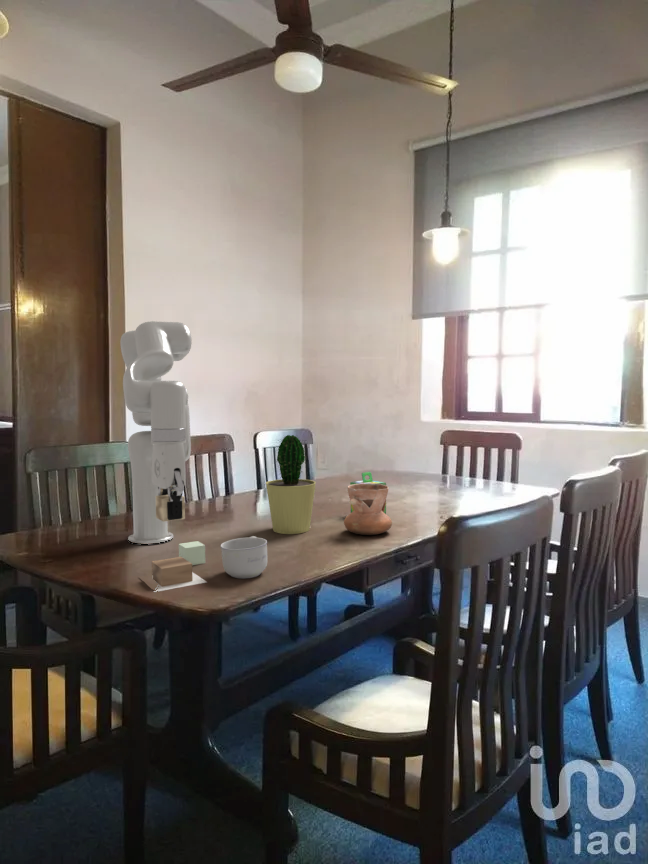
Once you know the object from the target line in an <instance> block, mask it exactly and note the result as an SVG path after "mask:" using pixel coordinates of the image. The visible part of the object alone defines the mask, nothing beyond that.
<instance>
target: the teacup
mask: <svg viewBox="0 0 648 864" xmlns="http://www.w3.org/2000/svg"><path fill="white" fill-rule="evenodd" d="M267 544H268V540H267V539H265V538H262V537H257V536H256V535H255V536H254V535H252V536H249V537H238V538H233V539H229V540H226V541H224V542H222V543H221V544H220V549H221V559H222V566H223V570H224V572H225V573H226V574H227V575H229V576H231V577H232V578H236V579H251V578H256V577H258V576H260V575H261V574H262V573H263V572H264V570H265V569H266V568H267V566H268V545H267Z"/></svg>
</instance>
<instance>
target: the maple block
mask: <svg viewBox="0 0 648 864" xmlns="http://www.w3.org/2000/svg"><path fill="white" fill-rule="evenodd" d="M185 499H186V497H185V496H184V495H182V518H181V519H175V520H174V521H179V520H186V501H185ZM167 502H169V498H168V495H159V496H156V518H158V519H159V520H161V521H163V522H164V521H167V522H171V521H173V520H168V514H167Z"/></svg>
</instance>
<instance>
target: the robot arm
mask: <svg viewBox="0 0 648 864" xmlns="http://www.w3.org/2000/svg"><path fill="white" fill-rule="evenodd" d="M192 340H193V338H192V334H191V331H190V328H189V327H188V325H186V324H185V323H183V322H178V321H157V320H156V321H153V320H152V321H144V322H142V323H140V324H139V325H138V326H137V327H136V329H135V330H129V331H126V332H124V333H122V335H121V337H120V342H119V343H120V352H121V356H122V360H123V362H124V364H125V367H126V369H125V371H124V374H123V379H122V387H123V388H122V389H123V396H124V403H125V405H126V408H127V409H128V410H129V411H130V412H131V415H132V420H133V421H134V424H136V425H138V426H141V427H144V426H145V427H150V430H142V431H138V432H135V433H133V434H131V436H129V437H128V440H127V450H128V451H127V452H128V456H129V462H130V467H131V469H130V470H131V479H132V480H131V481H132V482H131V484H132V485H131V486H132V487H131V488H132V489H131V490H132V516H133V517H132V519H133V534H131V535H129V536H128V537H127V538H128V539H127V541H128V540H129V541H131V542H135V543H147V544H148V543H159V544H161V543H160V542H164V543H166V542H165V541H167V542H169V541H168V540H170V541H172V540H173V539H174V533H172V532H170V531H168V521H164V522H163V521H161V520H159V519H158V518H156V496H159V495H168V498H169V502H167V514H168V520H172V521H176V520H175V519H180V520H182V519H181V518H182V496H183V495H184V493H183V492H184V490H185V488H184V487H185V485H186V481H187V479H186V477H187V476H186V475H187V474H186V471H187V470H186V462H187V461H188V460H189V459H190V458H191V452H192V443H191V424H190V423H191V422H190V421H191V419H190V407H189V393H188V389H187V387H186V386H185V385H184V383H183V382H181V381H178V380H162V377H163V376H165V375H167V374H168V373H169V372H170V371H171V370H172V368H173V366H174V362H179V361H182V360H183V359H185V357H186V356H187V355H188V354H189V353H190V351H191V349H192V345H193V344H192V343H193V342H192ZM172 538H173V539H172ZM171 539H172V540H171ZM129 541H128V542H129ZM148 545H149V544H148Z"/></svg>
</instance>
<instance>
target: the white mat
mask: <svg viewBox="0 0 648 864" xmlns="http://www.w3.org/2000/svg"><path fill="white" fill-rule="evenodd" d="M192 580H193V581H190V582H185V583H180V584H174V585H169V586H163V587H162V586H161V585H159V584H158V585H157V587H156V588H155V590H156V589H157V588H158V589H157V590H156V591H153V592H154V593H157V591H158V592H163V591H168V590H173V589H178V588H184V587H189V586H195V585H199V584H200V585H201V584H205V583H207V581H206V580H205V579H203V578H202V577H201V576H199V575H198V574H196V573H195V572H193V571H192ZM156 583H157V582H156ZM158 586H159V587H158Z"/></svg>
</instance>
